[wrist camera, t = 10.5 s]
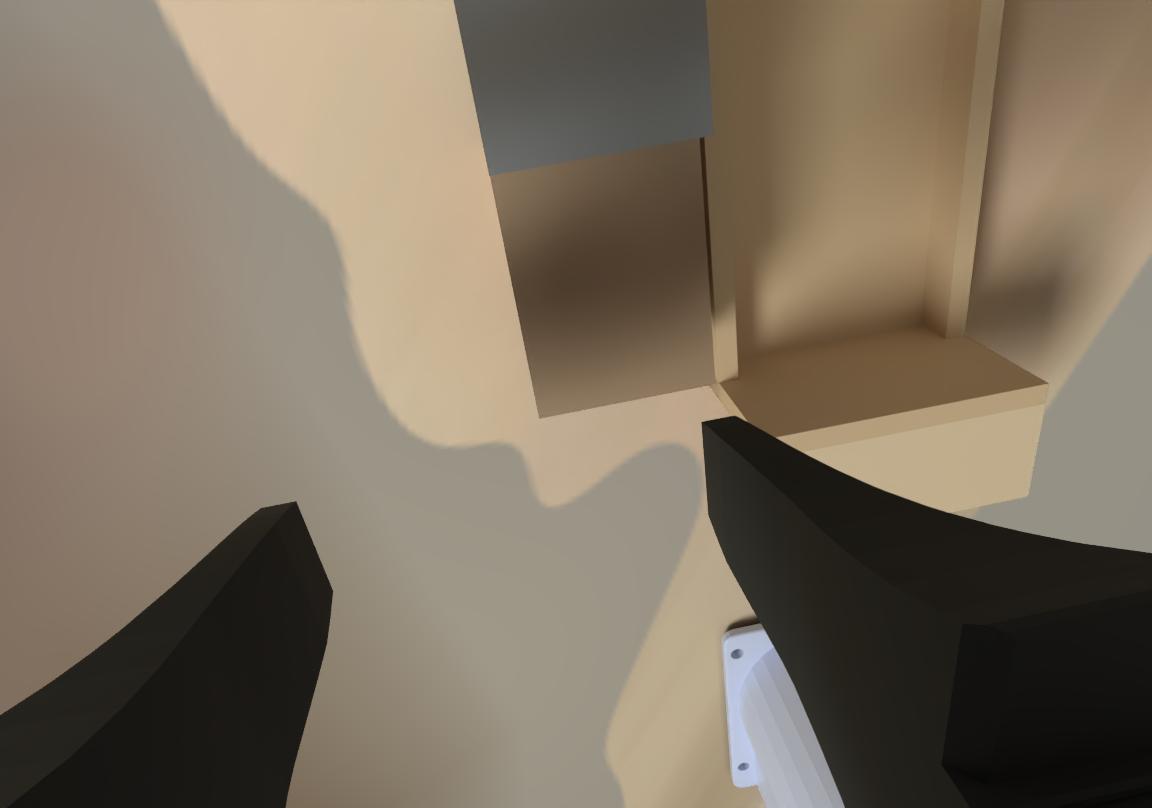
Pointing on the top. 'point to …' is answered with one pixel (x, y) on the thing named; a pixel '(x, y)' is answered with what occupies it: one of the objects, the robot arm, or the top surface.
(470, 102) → the top surface
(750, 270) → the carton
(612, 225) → the box
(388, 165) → the top surface
